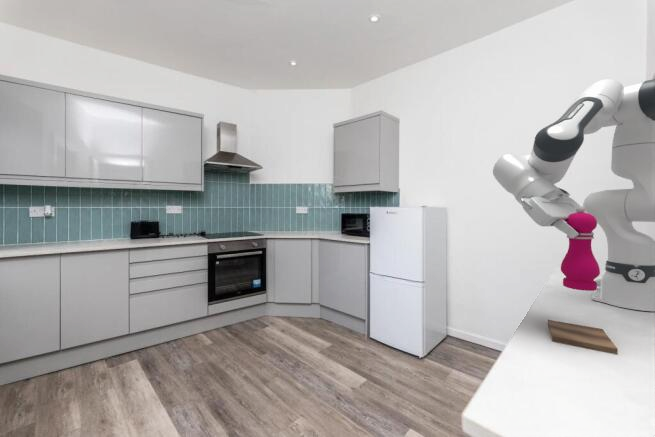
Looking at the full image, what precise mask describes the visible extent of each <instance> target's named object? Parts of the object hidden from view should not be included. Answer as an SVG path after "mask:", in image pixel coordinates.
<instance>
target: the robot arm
mask: <svg viewBox="0 0 655 437" xmlns="http://www.w3.org/2000/svg"><path fill="white" fill-rule="evenodd" d="M614 126H616V127H615V129H614V133H613V137H612V138H613V139H612V144H611V160H610V161H611V162H610V163H611V164H610V166H611V167H610V168H611V172H612V173H613V174H614V175H615V176H617V177H620V178H622V179H626V180H630V181H631V182H632V183H633V188H623V189H605V190H601V191H596V192H595V191H594V192H591V193H590V194H588V195H587V196H586V198H585V199H584V201H583V204H582V206H583V207H584V208H585V212H583V213H588V214H591V215H593V216H594V217H595V218H596V220H597V225H599V226H600V227H601V229H602V230H603V232H604V234H605V237H606V242H607V260H606V262H605V264H604V265H605V266H604V267H605V268H604V270H605V272H604V273H603V275H602V276H601V277H600V278H599V279H594V281H596V282H597V290H594V291H593V292H592V294H591V300H592V301H597V302H601V303H605V304H608V305H611V306H614V307H619V308H624V309H627V310H635V311H644V312H645V311H646V312H655V239H654V238H653V237H652V236H650V235H648V234H646V233H642V232H641V231H638V230H637V229H636V228H635V227H634V225H633V223H634V222H639V223H640V222H641V223H643V222H644V223H655V78H653V79H649V80H645V81H643V82H638V83H636V84H631V85H627V86H624V85H623V84H622V83H621V82H620V81H618V80H616V79H611V78H610V79H609V78H607V79H606V78H605V79H601V80H598V81H595V82H594V83H592V84H591V85H589V86H588V87H587V88H585V89H584V90H583V91H582V92H581V93H579V95H578V96H577V97H576V98H575V99H574V100H573V102H571V103H570V105H569V107H568V108H567V110H566V111H565V112H564V113H563V115H561V116H560V117H559V118H558V119H557V120H556V121H554V122H552V123H551V124H548V125H547V126H545V127H543V128H542V129H540V130H539V131H538V132H537V134H536V135H535V137H534V141H533V145H532V150H531V152H530V154H524V155H523V154H522V155H516V154H513V153H512V152H511V153H506V154H504V155H502V156H501V157H500V158H498V160H497V161H496V163H495V164H494V166H493V169H492V175H493V177H494V179H495V180H496V181H497V182H498V183H499V185H500V186H501V187H502V188H503V189H504V190H506V192H508V193H510V194H511V195H513V196H514V198H515V200H516V202H517V203H519V204H520V205H521V206H522V209H523V211H524V212H525V213H526V214H527V215H528V216H529V217H530V219H532V220H533V222H535V224H537V225H538V226H541V227H554V228H556V229H557V230H559V231H560V232H561V233H564V234H566V235H568V236H569V237H570V238H577V237H578V236H579V235H580V232H578V231H577V230H576V229H573V228H572V227H571V226H570V225H568V224H567V222H566V221H565V219H568V216H569V215H570V214H573V213H577V212H576V208H577V207H579V206H581V205H580V204H579V203H578V202H577V201H576V200H574V199H573V198H572V197H570V196H571V194H570V193H569V192H568V191H567V190H565V189H562V188H560V187H558V186H557V185H556V184H557V183H559V182H560V181H561V180H563V178H564V177H565V176H566V173H567V171H568V170H569V168H570V166H571V165H572V162H573V160H574V159H575V156H576V155H577V152H579V150H580V148H581V147H582V145H583V143H584V140H585V139H584V138H585V135H591V134H594V133H597V132H598V131H600V130H601V129H602V128H606V127H607V128H608V127H614ZM592 233H594V231H592Z"/></svg>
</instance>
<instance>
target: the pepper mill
mask: <svg viewBox="0 0 655 437" xmlns="http://www.w3.org/2000/svg"><path fill="white" fill-rule="evenodd" d="M576 212H577V213H573V214H570V215H569V216H568V219H565V221H566V222H567V224H568V225H570V226H571V227H572V228H573V229H576V230H577V231H578V232H580V235H579V236H578V237H577V238H570V237H569V236H568V235H567V234H566V235H567V236H566V238H567V239H568V249H567V252H566V254H565V255H564V258H563V259H562V262H561V263H560V264H561V265H560V272H561V273H562V274H563V275H564V276H565V277H563V278H562V286H563V287H565V288H568V289H572V290H577V291H586V292H589V291H590V292H591V291H594V290H597V288H598V286H597V282H596V281H595V280H596V278H598V277H599V276H600V274H601V268H600V264H599V263H598V261H597V259H596V258H595V255H594V254H593V250H592V240H594V239H595V237H594V235H595V233H594V230H595V229H596V228H597V226H598V223H597V220H596V218H595V217H594V216H593V215H591V214H588V213H583V212H585V208H584V207H583V205H580V206H579V207H577V208H576ZM592 232H593V233H592Z"/></svg>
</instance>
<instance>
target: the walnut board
mask: <svg viewBox="0 0 655 437" xmlns="http://www.w3.org/2000/svg"><path fill="white" fill-rule="evenodd" d="M547 327H548V329H549V334H550V337H551V341H552V342H554V343H559V344H565V345H570V346H574V347H579V348H584V349H590V350H594V351H599V352H604V353H608V354H612V355H618V348H617V346H616V344H614V342H613V341H612V339H611V338H610V337H609V335H608V334H607V333H606V331H605V330H604V329H603V328H598V327H593V326H587V325H583V324H576V323H570V322H565V321H558V320H552V319H547Z"/></svg>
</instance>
